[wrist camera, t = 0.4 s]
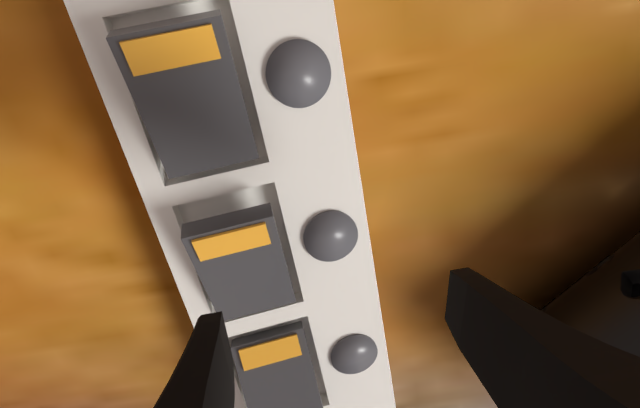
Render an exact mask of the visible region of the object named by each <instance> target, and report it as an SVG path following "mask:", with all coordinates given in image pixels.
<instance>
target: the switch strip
mask: <svg viewBox="0 0 640 408" xmlns="http://www.w3.org/2000/svg"><path fill="white" fill-rule="evenodd" d="M63 1H64V4H65V6H66V9H67V11H68V14H69V16H70V19H71V21H72V24H73V26H74V29H75V31H76V34H77V36H78V39H79V41H80V44H81V46H82V49H83V51H84V54H85V56H86V59H87V61H88V64H89V66H90V69H91V71H92V74H93V76H94V79H95V81H96V84H97V86H98V89H99V91H100V94H101V96H102V99H103V101H104V104H105V106H106V109H107V111H108V114H109V116H110V119H111V121H112V124H113V126H114V129H115V131H116V134H117V136H118V139H119V141H120V144H121V146H122V149H123V152H124V154H125V157H126V159H127V162H128V164H129V167H130V169H131V172H132V174H133V177H134V179H135V182H136V184H137V187H138V189H139V192H140V194H141V197H142V199H143V202H144V204H145V207H146V209H147V212H148V214H149V217H150V219H151V222H152V224H153V227H154V229H155V232H156V234H157V237H158V239H159V242H160V244H161V247H162V249H163V252H164V254H165V257H166V259H167V262H168V264H169V267H170V269H171V272H172V274H173V277H174V279H175V282H176V284H177V287H178V289H179V292H180V294H181V297H182V299H183V302H184V304H185V307H186V309H187V312H188V314H189V317H190V319H191V322H192V324H193V327H195V325H196V322H197V319H198V318H199V317H200V316H201V315H204V314H209V313H215V312H216V311H215V309H214V307H213V305H212V303H211V301H210V299H209V297H208V294H207V292H206V290H205V288H204V286H203V284H202V282H201V280H200V278H199V276H198V274H197V272H196V270H195V268H194V266H193V263H192V261H191V259H190V257H189V255H188V253H187V251H186V249H185V247H184V245H183V243H182V241H181V227H182V224H184V223H188V222H192V221H196V220H200V219H204V218H208V217H213V216H217V215H221V214H225V213H229V212H233V211H237V210H241V209H246V208H250V207H254V206H258V205H262V204H266V203H270V204H271V207H272V211H273V215H274V219H275V222H276V226H277V230H278V233H279V237H280V241H281V245H282V248H283V252H284V256H285V260H286V263H287V267H288V271H289V274H290V278H291V282H292V286H293V290H294V294H295V299H296V302H294V303H290V304H287V305H283V306H279V307H275V308H272V309H268V310H264V311H260V312H257V313H253V314H249V315H245V316H242V317H238V318H234V319H230V320H227V321H224V322H225V326H226V331H227V335H228V339H229V344H230V347H231V342H232V339H236V338H240V337H243V336H247V335H251V334H254V333H258V332H262V331H265V330H269V329H273V328H276V327H280V326H284V325H287V324H291V323H295V322H298V321H302V324H303V328H304V332H305V336H306V340H307V344H308V348H309V352H310V356H311V360H312V364H313V368H314V372H315V376H316V380H317V384H318V388H319V392H320V396H321V400H322V404H323V408H396V405H395V399H394V392H393V386H392V379H391V373H390V366H389V360H388V353H387V347H386V340H385V334H384V327H383V321H382V314H381V308H380V301H379V295H378V288H377V282H376V275H375V269H374V262H373V256H372V249H371V243H370V236H369V230H368V223H367V216H366V210H365V203H364V197H363V190H362V184H361V177H360V171H359V164H358V158H357V151H356V145H355V138H354V132H353V125H352V119H351V112H350V106H349V99H348V93H347V86H346V80H345V73H344V67H343V60H342V54H341V47H340V41H339V34H338V28H337V21H336V15H335V8H334V2H333V0H63ZM218 9H220V10H221V14H222V18H223V22H224V25H225V29H226V33H227V37H228V41H229V44H230V48H231V52H232V56H233V59H234V63H235V67H236V71H237V74H238V78H239V82H240V86H241V89H242V93H243V97H244V101H245V105H246V108H247V112H248V116H249V120H250V123H251V127H252V131H253V135H254V138H255V142H256V146H257V150H258V155H259V159H254V160H250V161H246V162H241V163H237V164H233V165H228V166H224V167H220V168H216V169H211V170H207V171H203V172H198V173H194V174H190V175H185V176H181V177H177V178H172V179H169V178H168V176H167V173H166V171H165V169H164V167H163V165H162V162H161V160H160V158H159V156H158V153H157V151H156V149H155V147H154V145H153V142H152V140H151V138H150V136H149V133H148V131H147V129H146V127H145V125H144V122H143V120H142V118H141V116H140V113H139V111H138V109H137V107H136V105H135V102H134V100H133V98H132V96H131V93H130V91H129V89H128V87H127V85H126V82H125V80H124V78H123V76H122V73H121V71H120V69H119V67H118V65H117V62H116V60H115V58H114V56H113V53H112V51H111V49H110V47H109V45H108V42H107V40H106V37H107V35H108V34H109V32H110V31H111V30H116V29H121V28H126V27H131V26H136V25H141V24H146V23H151V22H156V21H162V20H167V19H172V18H177V17H182V16H187V15H192V14H197V13H203V12H208V11H213V10H218ZM233 364H234V383H235V402H234V408H247V405H246V402H245V398H244V395H243V391H242V388H241V384H240V381H239V377H238V374H237V370H236V366H235V363H234V359H233Z"/></svg>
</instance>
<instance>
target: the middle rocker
mask: <svg viewBox="0 0 640 408" xmlns="http://www.w3.org/2000/svg"><path fill="white" fill-rule="evenodd" d="M181 241H182V243H183V245H184V247H185V249H186V251H187V253H188V255H189V257H190V259H191V261H192V263H193V266H194V268H195V270H196V272H197V274H198V276H199V278H200V280H201V282H202V284H203V286H204V288H205V290H206V292H207V294H208V297H209V299H210V301H211V303H212V305H213V307H214V309H215V311H216V312H220V311H222V313H223V318H224V321H227V320H230V319H234V318H238V317H242V316H245V315H249V314H253V313H257V312H260V311H264V310H268V309H272V308H275V307H279V306H283V305H287V304H290V303H294V302H296V299H295V294H294V290H293V286H292V282H291V278H290V274H289V271H288V267H287V263H286V260H285V256H284V252H283V248H282V245H281V241H280V237H279V233H278V230H277V226H276V222H275V219H274V215H273V211H272V207H271V204H270V203H266V204H262V205H258V206H254V207H250V208H246V209H241V210H237V211H233V212H229V213H225V214H221V215H217V216H213V217H208V218H204V219H200V220H196V221H192V222H188V223H184V224H182V227H181Z"/></svg>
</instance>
